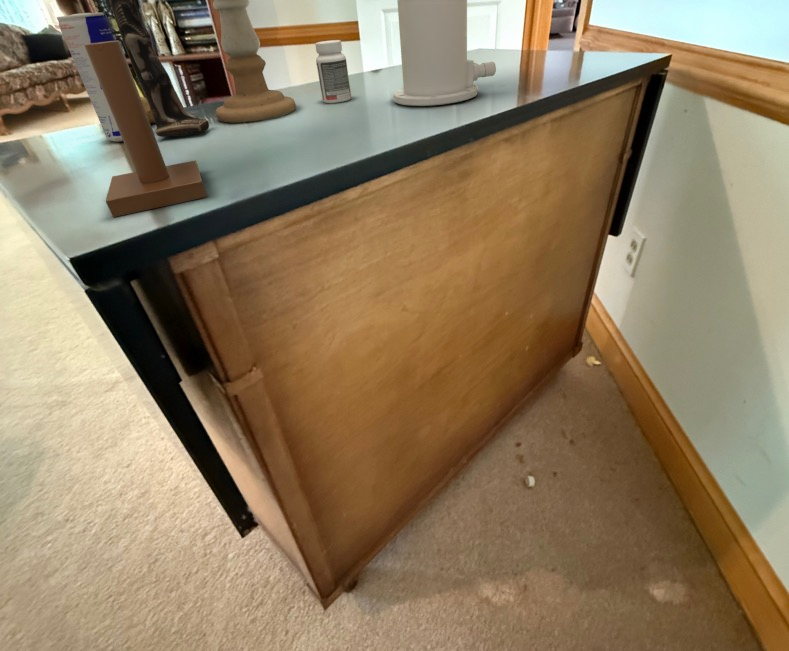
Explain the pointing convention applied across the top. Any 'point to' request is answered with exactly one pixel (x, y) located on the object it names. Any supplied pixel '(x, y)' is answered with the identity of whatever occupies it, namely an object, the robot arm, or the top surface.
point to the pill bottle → (332, 72)
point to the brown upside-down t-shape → (139, 142)
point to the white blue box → (76, 36)
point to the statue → (153, 75)
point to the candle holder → (246, 69)
